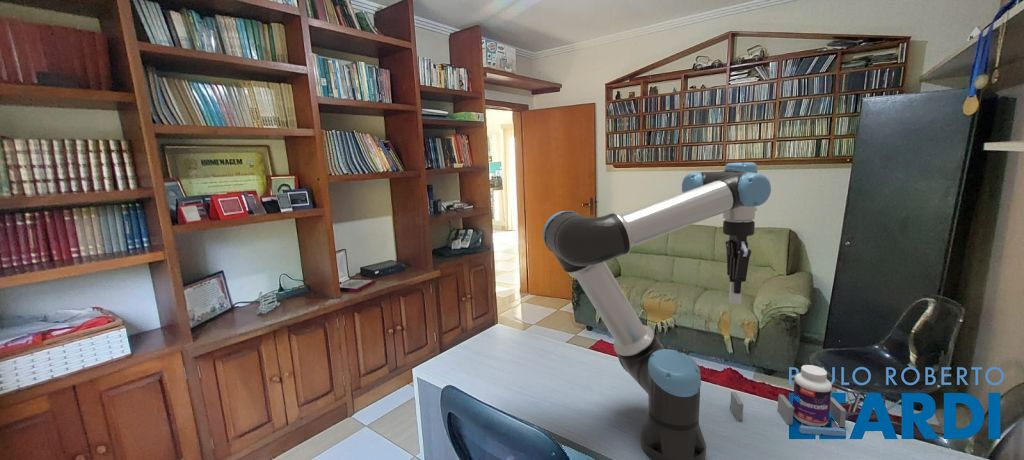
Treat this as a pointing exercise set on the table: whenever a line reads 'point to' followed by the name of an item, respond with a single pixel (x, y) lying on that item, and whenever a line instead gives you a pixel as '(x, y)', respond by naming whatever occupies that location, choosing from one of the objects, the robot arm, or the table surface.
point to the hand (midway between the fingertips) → (735, 303)
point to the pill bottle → (812, 396)
